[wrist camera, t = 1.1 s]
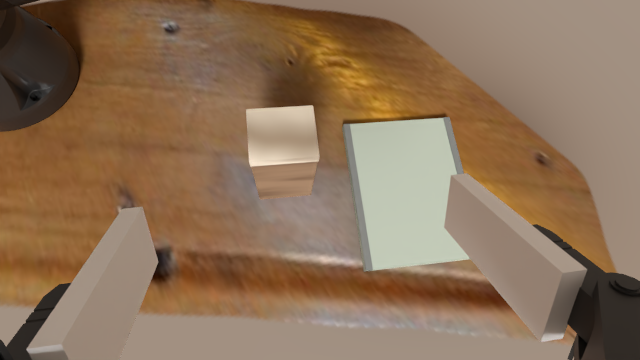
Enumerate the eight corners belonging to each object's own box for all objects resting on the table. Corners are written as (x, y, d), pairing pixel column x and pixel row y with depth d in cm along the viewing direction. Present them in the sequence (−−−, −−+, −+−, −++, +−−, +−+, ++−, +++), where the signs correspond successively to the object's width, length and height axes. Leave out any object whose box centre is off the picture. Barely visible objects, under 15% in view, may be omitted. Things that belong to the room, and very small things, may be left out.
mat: (342, 128, 46) (343, 124, 45) (445, 121, 48) (449, 117, 47) (363, 271, 41) (365, 270, 40) (480, 258, 42) (485, 256, 41)
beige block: (257, 159, 44) (246, 109, 33) (306, 155, 45) (313, 105, 33) (259, 199, 42) (249, 161, 31) (311, 195, 43) (319, 156, 32)
